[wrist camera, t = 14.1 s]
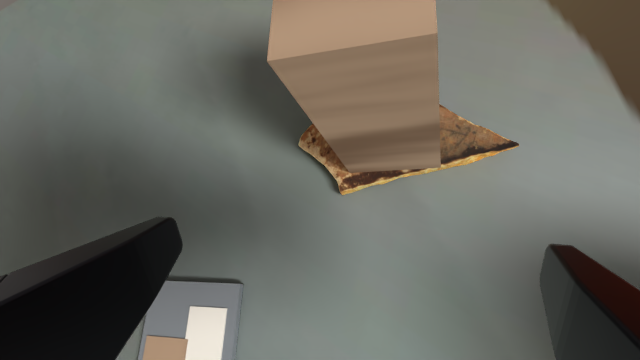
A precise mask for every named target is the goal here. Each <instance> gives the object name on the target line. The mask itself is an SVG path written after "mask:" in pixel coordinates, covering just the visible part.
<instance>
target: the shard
mask: <svg viewBox="0 0 640 360" xmlns="http://www.w3.org/2000/svg"><path fill="white" fill-rule="evenodd" d="M439 119H440V159H441V168H427V169H409V170H392V171H375V172H358V173H350V172H349V171H348V170H347V168H346V167H345V166H344V164H343V163H342V162H341V160H340V159H339V157H338V156H337V155H336V153H335V152H334V151H333V149H332V148H331V147H330V145H329V144H328V143H327V141H326V140H325V139H324V137H323V136H322V135H321V133H320V132H319V131H318V129H317V128H316V127H315V125H314V124H312V125H311V126H310V127H309V128H308V129H307V130H306V131H305V132H304V133H303V135H302V136H301V137H300V142H299V144H298V145H299V147H301V148H302V149H303V150H304V151H306V152H308V153H309V154H311V155H312V156H313V157H315V158H316V159H317V160H318V161H319V162H321V163H322V164H323V165H324V166H325V167H326V168H327V169H328V170H329V172H330V173H331V174H332V175H333V177H334V178H335V179H336V181H337V183H338V187H339V191H340V193H341V194H342V195H345V194H348V193H352V192H355V191H358V190H361V189H363V188H366V187H369V186H373V185H378V184H385V183H387V182H390V181H393V180H395V179H397V178H401V177H407V176H411V175H419V174H425V173H429V172H433V171H437V170H442V169H447V168H451V167H454V166H460V165H466V164H469V163H472V162H474V161H478V160H480V159H482V158H485V157H488V156H494V155H495V154H497V153H499V152H502V151H506V150H510V149H513V148H515V147H518V146H519V144H518V143H516V142H513V141H511V140H509V139H506V138H504V137H502V136H500V135H498V134H497V133H494V132H492V131H491V130H489V129H486V128H483V127H481V126H478V125H474V124H473V123H471V122H470V121H467V120H465V119H464V118H462V117H460V116H458V115H456V114H454V113H453V112H451V111H449V110H448V109H446V108H445V107H443V106H442V105H440V104H439Z"/></svg>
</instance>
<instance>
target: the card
mask: <svg viewBox="0 0 640 360" xmlns="http://www.w3.org/2000/svg"><path fill="white" fill-rule="evenodd" d="M242 293H243V284H233V283H209V282H185V281H165V283H164V284H163V286H162V288H161V290H160V292H159V294H158V295H157V297H156V299H155V300H154V302H153V304H152V305H151V307H150V308H149V310H148V311H147V313H146V318H145V324H144V329H143V335H142V340H141V345H140V351H139V356H138V360H235V356H236V347H237V338H238V329H239V320H240V311H241V302H242Z"/></svg>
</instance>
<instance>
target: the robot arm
mask: <svg viewBox="0 0 640 360" xmlns="http://www.w3.org/2000/svg"><path fill="white" fill-rule="evenodd" d="M182 246H183V244H182V239H181V236H180V233H179V230H178V226H177V223H176V221H175V220H174V219H173V218H171V217H156V218H153V219H151V220H148V221H145V222H143V223H140V224H138V225H135V226H132V227H130V228H127V229H124V230H122V231H119V232H116V233H114V234H111V235H109V236H106V237H103V238H101V239H98V240H95V241H93V242H90V243H88V244H85V245H82V246H80V247H77V248H74V249H72V250H69V251H66V252H64V253H61V254H59V255H56V256H53V257H51V258H48V259H45V260H43V261H40V262H37V263H35V264H32V265H30V266H27V267H24V268H22V269H19V270H16V271H14V272H11V273H10V274H9V275H7V274H6V275H3V276H0V360H115V359H116V358H117V356H118V355H119V353H120V352H121V350H122V349H123V347H124V346H125V344H126V343H127V341H128V340H129V338H130V337H131V335H132V334H133V332H134V331H135V329H136V328H137V326H138V325H139V323H140V322H141V320H142V319H143V317H144V316H145V314H146V313H147V311H148V310H149V308H150V307H151V305H152V304H153V302H154V300H155V299H156V297H157V295H158V294H159V292H160V290H161V288H162V286H163V284H164V283H165V281H166V279H167V277H168V275H169V273H170V271H171V270H172V268H173V266H174V264H175V262H176V260H177V258H178V257H179V255H180V253H181V251H182ZM540 287H541V292H542V297H543V302H544V306H545V311H546V316H547V321H548V326H549V330H550V335H551V340H552V345H553V349H554V353H555V357H556V360H640V290H639V289H637V288H636V287H634V286H633V285H631V284H630V283H628V282H626V281H625V280H623V279H622V278H620V277H619V276H617V275H616V274H614V273H613V272H611V271H610V270H608V269H607V268H605V267H604V266H602V265H601V264H599V263H598V262H596V261H595V260H593V259H592V258H590V257H589V256H587V255H586V254H584V253H582V252H581V251H579V250H578V249H576V248H575V247H573V246H571V245H561V244H550V245H548V246H547V248H546V251H545V255H544V260H543V265H542V269H541V274H540Z"/></svg>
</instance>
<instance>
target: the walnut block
mask: <svg viewBox="0 0 640 360" xmlns="http://www.w3.org/2000/svg"><path fill="white" fill-rule="evenodd" d="M267 62H268V63H269V65H270V66H271V67H272V69H273V70H274V71H275V73H276V74H277V75H278V77H279V78H280V79H281V81H282V82H283V83H284V85H285V86H286V87H287V89H288V90H289V92H290V93H291V94H292V96H293V97H294V98H295V100H296V101H297V102H298V104H299V105H300V106H301V108H302V109H303V110H304V112H305V113H306V114H307V116H308V117H309V118H310V120H311V121H312V122H313V124H314V125H315V127H316V128H317V129H318V131H319V132H320V133H321V135H322V136H323V137H324V139H325V140H326V141H327V143H328V144H329V145H330V147H331V148H332V149H333V151H334V152H335V153H336V155H337V156H338V157H339V159H340V160H341V162H342V163H343V164H344V166H345V167H346V168H347V170H348V171H349V172H350V173H358V172H375V171H392V170H409V169H427V168H441V159H440V119H439V79H438V39H437V19H436V2H435V0H273V6H272V16H271V26H270V36H269V46H268V55H267Z"/></svg>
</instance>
